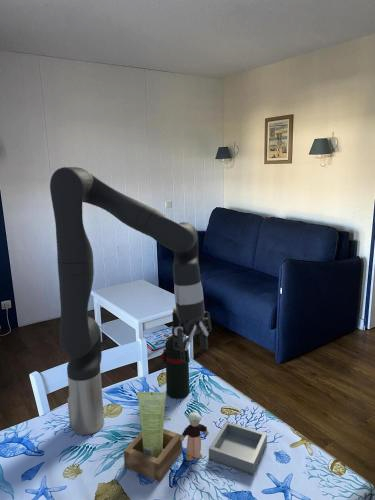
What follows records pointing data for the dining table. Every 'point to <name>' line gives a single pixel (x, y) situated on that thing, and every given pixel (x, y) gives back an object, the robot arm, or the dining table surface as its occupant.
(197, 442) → the grandmother figurine
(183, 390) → the wine bottle
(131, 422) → the dining table surface
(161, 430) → the tube
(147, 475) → the wooden frame
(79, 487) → the dining table surface
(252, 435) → the tray
